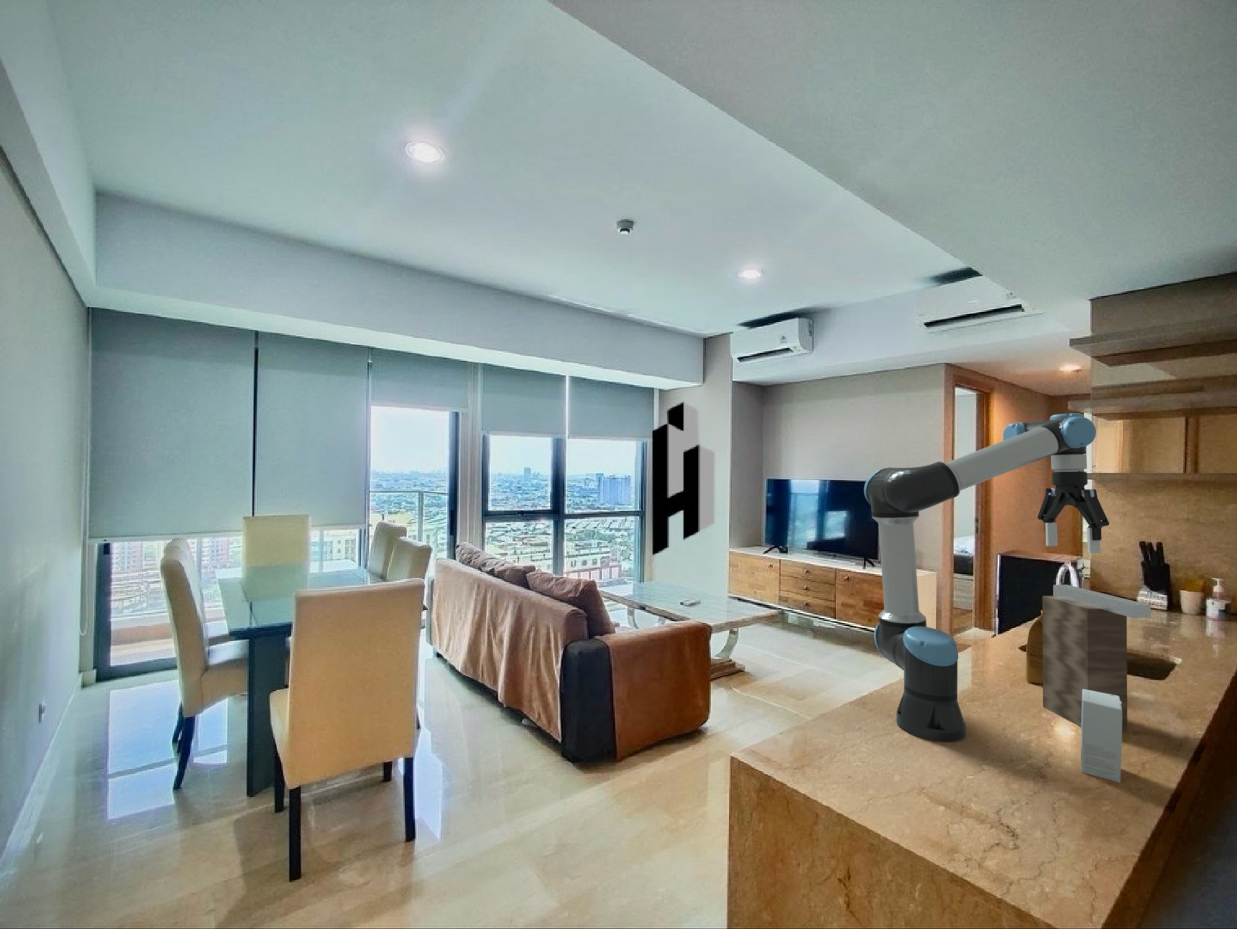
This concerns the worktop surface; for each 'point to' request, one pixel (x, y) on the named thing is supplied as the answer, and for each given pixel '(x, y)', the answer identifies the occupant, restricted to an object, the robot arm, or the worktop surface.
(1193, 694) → the worktop surface
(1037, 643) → the brown bottle
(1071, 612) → the walnut stand
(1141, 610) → the steel bar
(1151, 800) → the worktop surface
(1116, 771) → the skincare box
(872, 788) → the worktop surface
